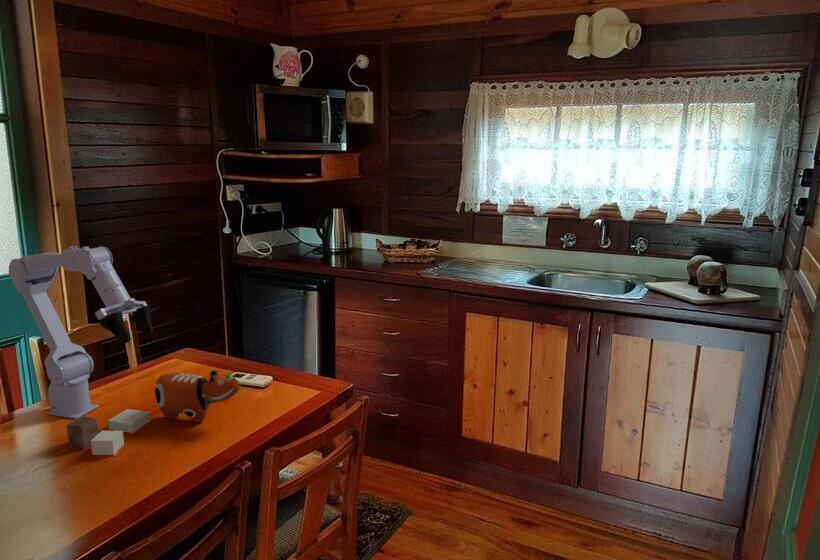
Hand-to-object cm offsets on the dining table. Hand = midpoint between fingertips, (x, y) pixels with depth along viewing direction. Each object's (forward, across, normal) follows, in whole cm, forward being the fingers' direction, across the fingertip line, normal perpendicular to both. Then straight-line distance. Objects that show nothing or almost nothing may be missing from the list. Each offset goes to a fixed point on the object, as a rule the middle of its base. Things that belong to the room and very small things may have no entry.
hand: (139, 338), depth 142 cm
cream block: (+20, -7, +18) cm, 27 cm away
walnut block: (+15, -6, +24) cm, 29 cm away
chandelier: (+19, +29, +12) cm, 37 cm away
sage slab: (+16, +5, +21) cm, 27 cm away
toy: (+24, +12, +7) cm, 28 cm away
